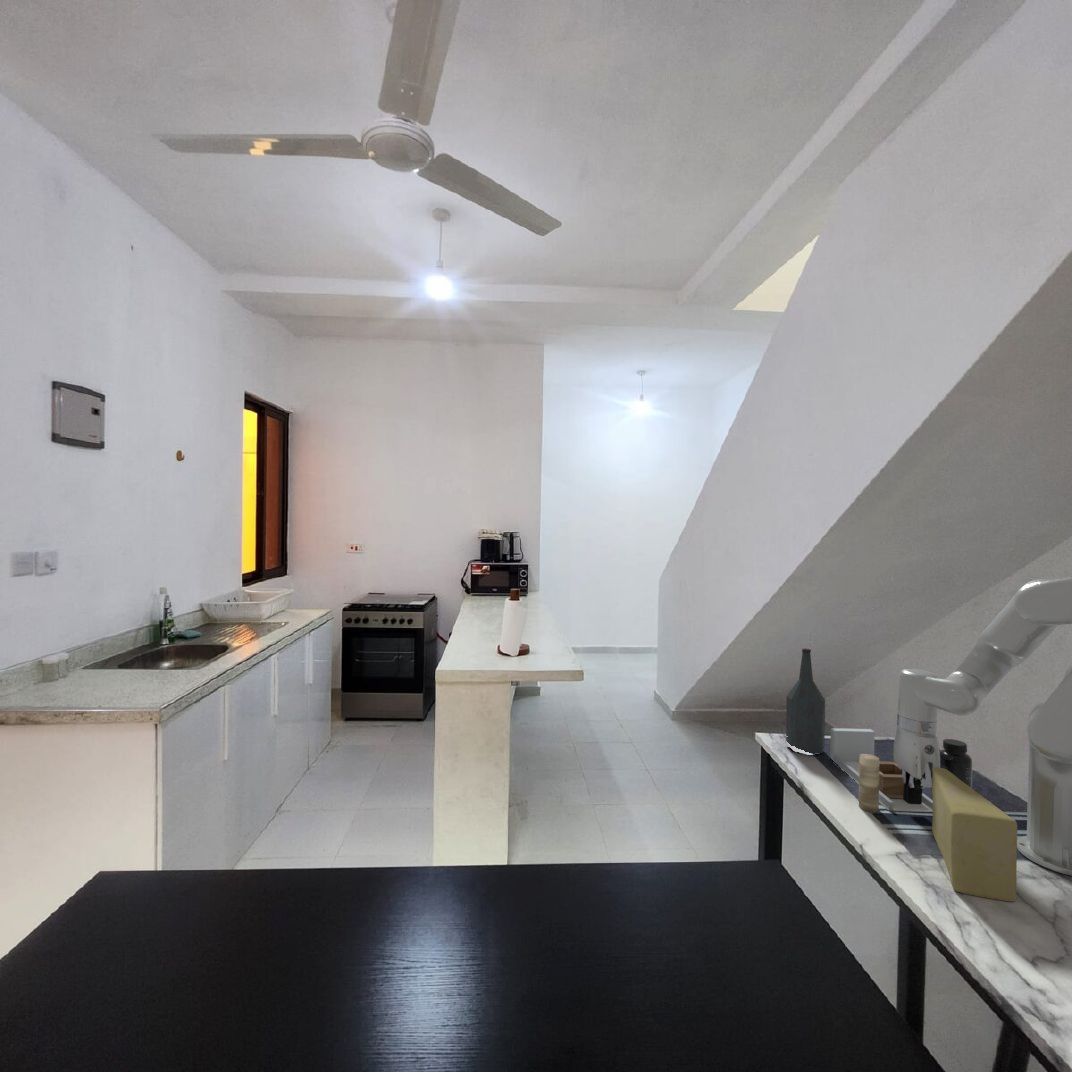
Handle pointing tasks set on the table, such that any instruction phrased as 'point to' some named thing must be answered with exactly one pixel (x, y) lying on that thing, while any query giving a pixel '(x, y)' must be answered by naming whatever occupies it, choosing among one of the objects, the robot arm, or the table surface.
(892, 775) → the brown wooden open box
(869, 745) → the track
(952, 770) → the supplement bottle
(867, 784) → the dowel
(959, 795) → the cheese
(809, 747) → the bottle
